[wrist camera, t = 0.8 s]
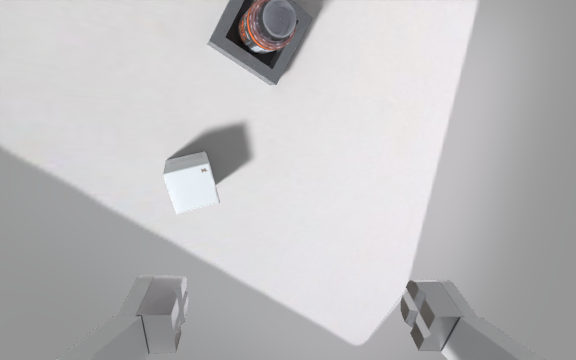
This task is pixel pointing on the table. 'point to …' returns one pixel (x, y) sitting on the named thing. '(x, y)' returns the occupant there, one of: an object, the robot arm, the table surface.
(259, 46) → the supplement bottle
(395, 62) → the table surface
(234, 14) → the steel socket
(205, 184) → the product box
